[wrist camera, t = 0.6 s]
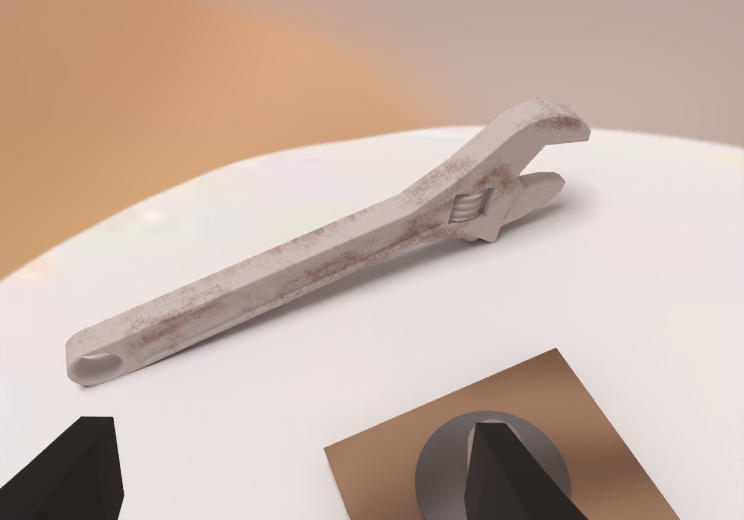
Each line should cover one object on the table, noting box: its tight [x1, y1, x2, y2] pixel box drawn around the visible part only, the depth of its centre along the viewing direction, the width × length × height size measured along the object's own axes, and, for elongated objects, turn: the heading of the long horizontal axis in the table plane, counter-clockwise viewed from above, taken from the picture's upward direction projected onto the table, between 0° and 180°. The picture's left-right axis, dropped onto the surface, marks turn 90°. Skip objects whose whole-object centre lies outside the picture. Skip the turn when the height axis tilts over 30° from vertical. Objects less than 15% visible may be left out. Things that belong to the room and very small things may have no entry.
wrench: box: [66, 99, 591, 386], centre depth 34 cm, size 8×2×30 cm
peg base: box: [324, 348, 680, 520], centre depth 25 cm, size 11×12×6 cm
